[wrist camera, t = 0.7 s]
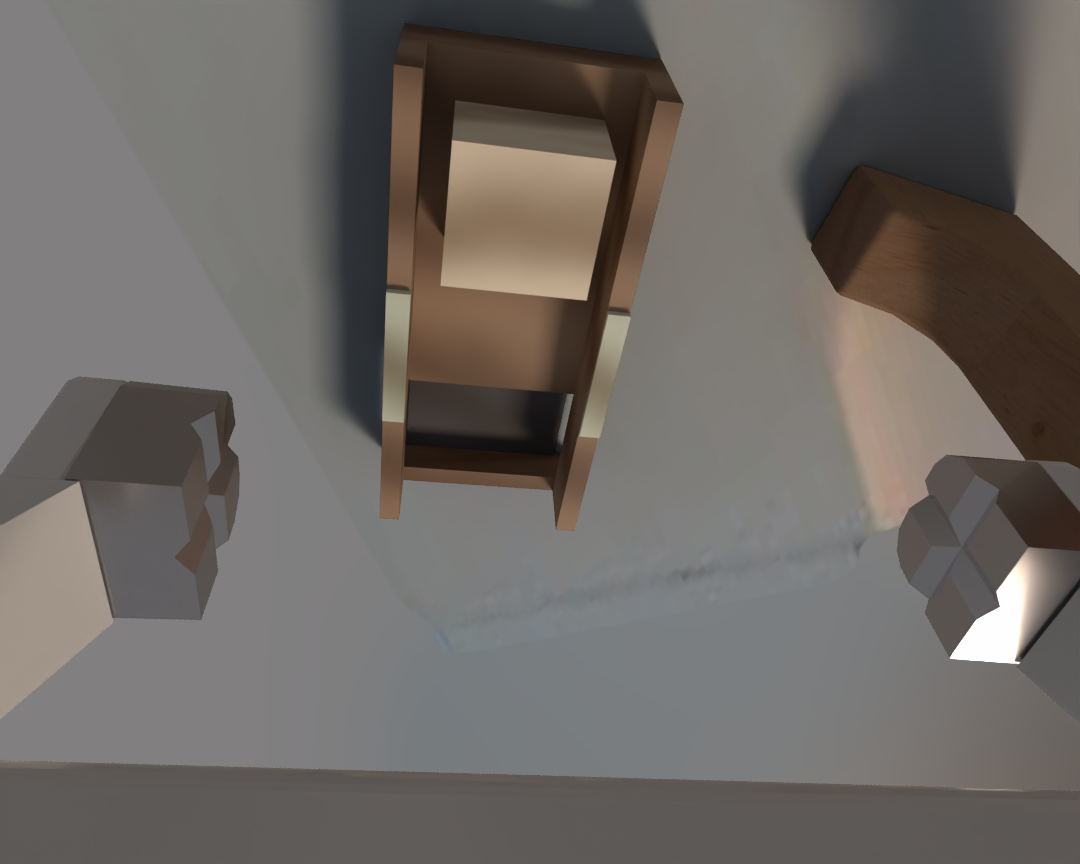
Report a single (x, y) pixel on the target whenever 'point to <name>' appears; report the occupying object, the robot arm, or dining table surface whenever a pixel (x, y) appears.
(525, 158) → the birch block
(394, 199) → the walled channel
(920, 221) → the wooden block
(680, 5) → the dining table surface
